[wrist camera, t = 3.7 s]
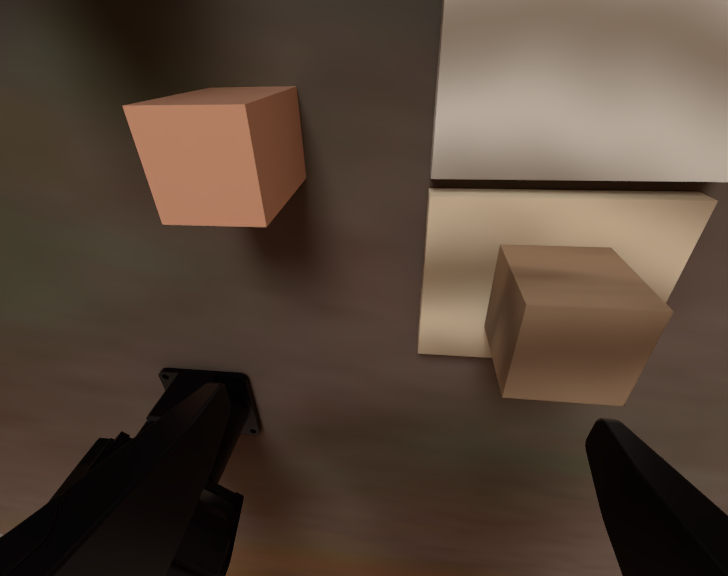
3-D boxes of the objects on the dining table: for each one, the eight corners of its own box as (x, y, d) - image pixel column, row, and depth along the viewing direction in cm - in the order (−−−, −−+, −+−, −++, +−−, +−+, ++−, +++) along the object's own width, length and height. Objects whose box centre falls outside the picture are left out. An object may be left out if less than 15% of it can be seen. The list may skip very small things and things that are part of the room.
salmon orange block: (306, 178, 18) (266, 227, 13) (228, 177, 19) (162, 224, 14) (296, 86, 16) (244, 104, 11) (209, 87, 17) (122, 105, 12)
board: (623, 351, 22) (633, 366, 21) (417, 340, 23) (417, 353, 22) (863, -152, 11) (908, -172, 10) (451, -123, 12) (454, -137, 11)
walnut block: (579, 331, 20) (623, 406, 16) (484, 326, 21) (502, 397, 16) (611, 247, 17) (673, 311, 13) (500, 244, 18) (526, 304, 14)
